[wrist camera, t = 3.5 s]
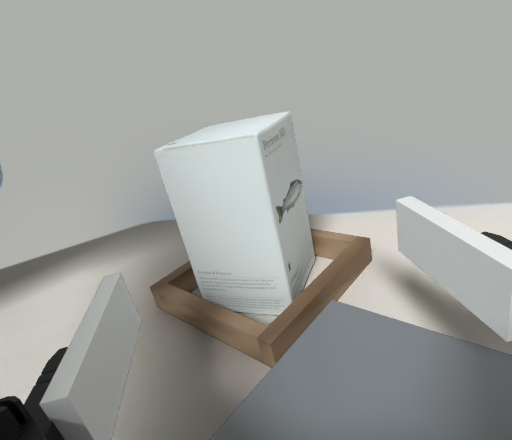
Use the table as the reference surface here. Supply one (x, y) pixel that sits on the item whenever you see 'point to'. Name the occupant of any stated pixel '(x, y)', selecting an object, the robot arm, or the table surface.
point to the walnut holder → (289, 321)
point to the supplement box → (242, 212)
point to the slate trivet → (377, 385)
